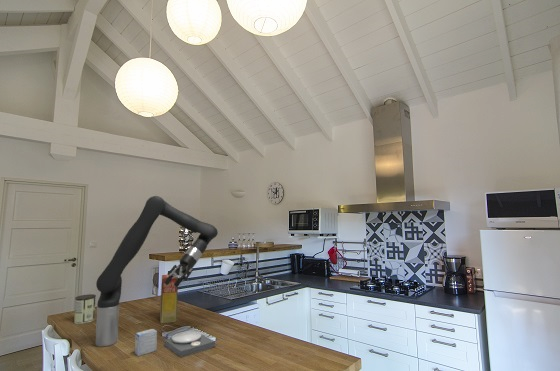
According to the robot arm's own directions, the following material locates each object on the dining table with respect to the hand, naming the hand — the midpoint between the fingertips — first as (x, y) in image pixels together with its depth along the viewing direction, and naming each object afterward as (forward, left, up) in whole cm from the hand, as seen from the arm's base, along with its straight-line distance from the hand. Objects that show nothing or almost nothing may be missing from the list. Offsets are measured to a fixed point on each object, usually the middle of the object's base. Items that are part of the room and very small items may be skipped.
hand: (170, 285), depth 149 cm
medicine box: (+2, -11, -27) cm, 29 cm away
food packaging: (-37, +15, -27) cm, 49 cm away
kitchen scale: (+9, +6, -27) cm, 29 cm away
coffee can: (-69, -22, -27) cm, 78 cm away
